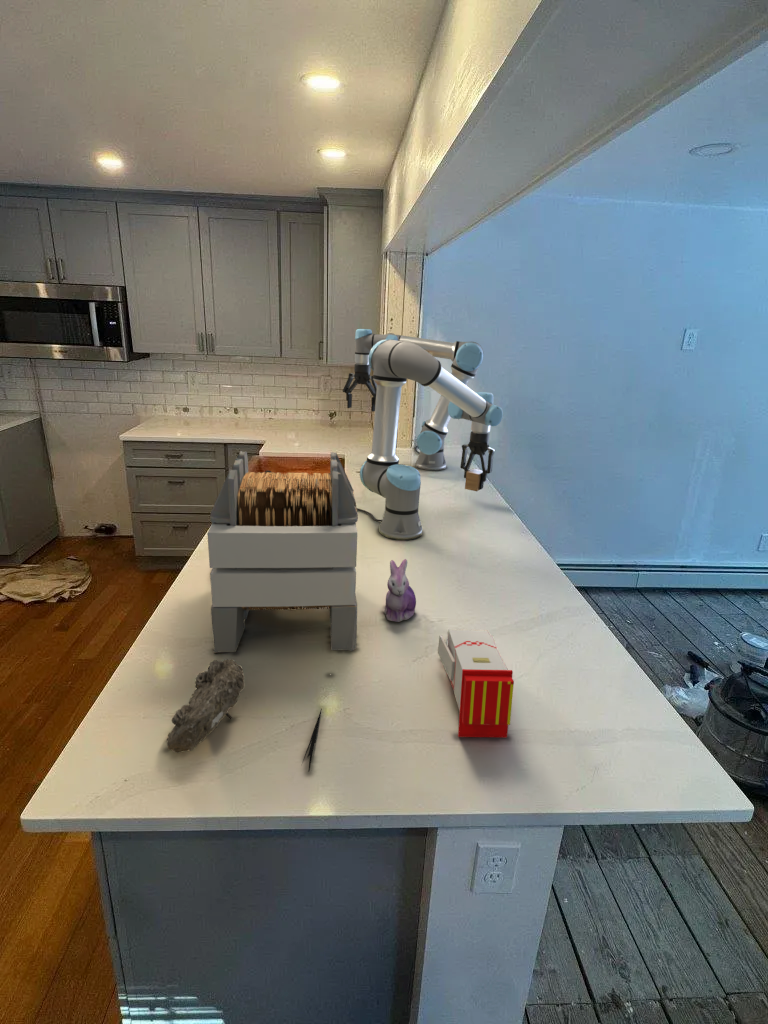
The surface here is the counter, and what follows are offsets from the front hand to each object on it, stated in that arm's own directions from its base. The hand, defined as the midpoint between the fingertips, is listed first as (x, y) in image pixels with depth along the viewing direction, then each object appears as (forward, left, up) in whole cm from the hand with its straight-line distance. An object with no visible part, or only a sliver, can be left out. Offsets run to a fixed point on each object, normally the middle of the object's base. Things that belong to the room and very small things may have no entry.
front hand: (474, 487), depth 234 cm
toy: (+82, -96, -7) cm, 126 cm away
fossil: (+57, -141, -7) cm, 152 cm away
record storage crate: (+34, -109, -7) cm, 115 cm away
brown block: (0, 0, -1) cm, 1 cm away
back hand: (-68, -6, +22) cm, 72 cm away
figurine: (+50, -86, -7) cm, 100 cm away
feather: (+70, -125, -7) cm, 144 cm away
